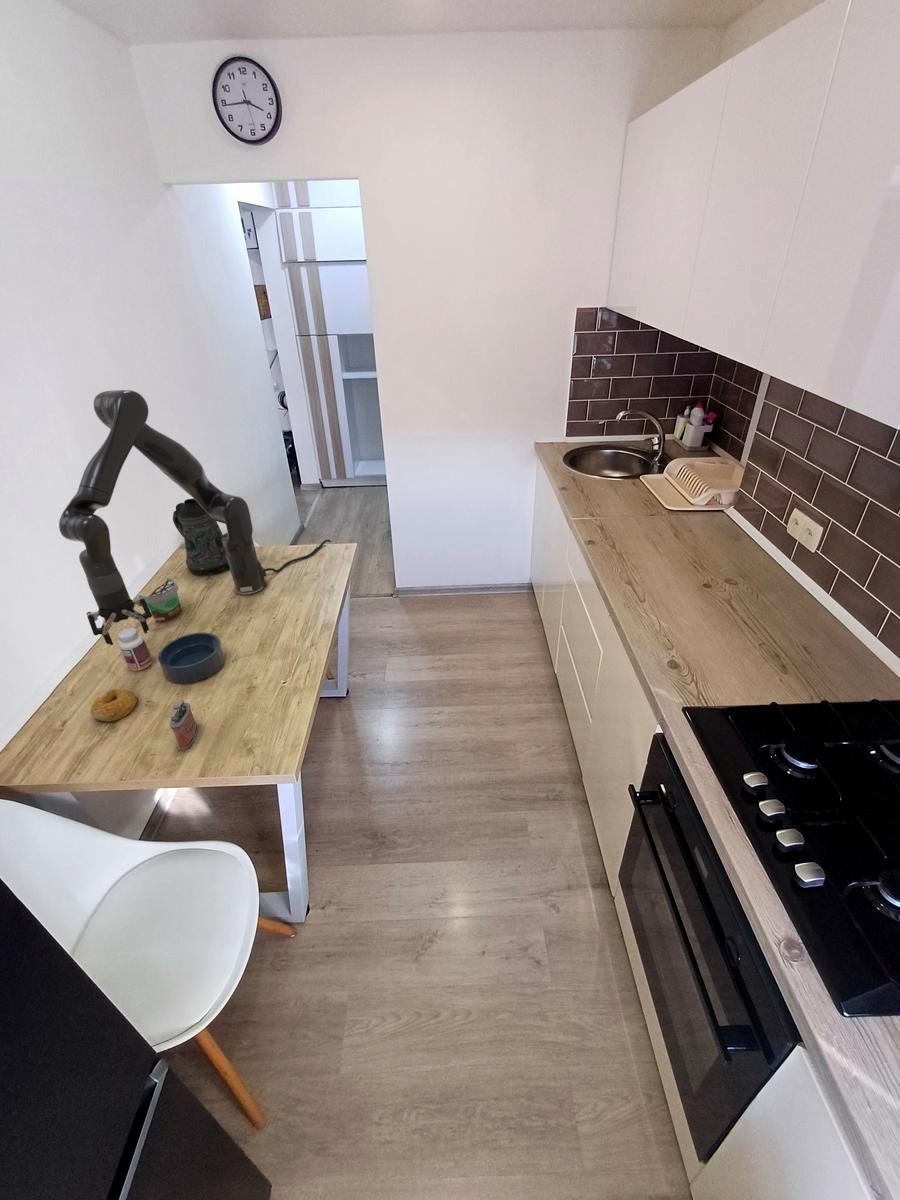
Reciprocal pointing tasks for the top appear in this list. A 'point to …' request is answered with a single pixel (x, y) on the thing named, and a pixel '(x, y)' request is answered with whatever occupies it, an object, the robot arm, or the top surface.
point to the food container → (164, 602)
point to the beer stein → (200, 539)
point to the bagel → (113, 705)
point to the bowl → (191, 657)
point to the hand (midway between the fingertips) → (128, 637)
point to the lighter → (183, 725)
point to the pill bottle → (134, 649)
